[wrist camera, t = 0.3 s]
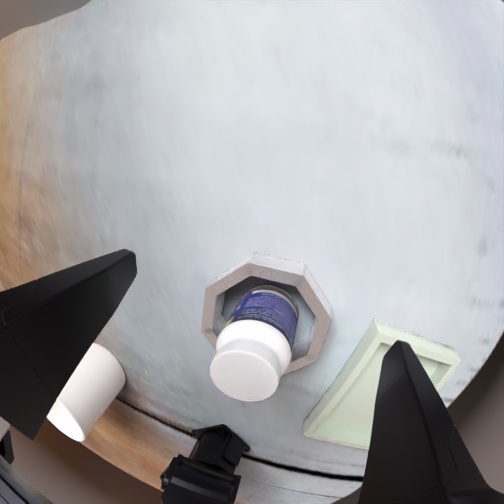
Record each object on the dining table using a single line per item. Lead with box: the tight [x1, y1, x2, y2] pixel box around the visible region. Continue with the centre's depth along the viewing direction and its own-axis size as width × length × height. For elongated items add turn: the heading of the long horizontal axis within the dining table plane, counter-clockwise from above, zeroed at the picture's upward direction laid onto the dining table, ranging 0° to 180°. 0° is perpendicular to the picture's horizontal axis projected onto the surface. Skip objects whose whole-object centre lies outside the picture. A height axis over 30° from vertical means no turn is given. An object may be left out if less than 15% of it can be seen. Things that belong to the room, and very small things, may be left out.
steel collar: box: [201, 252, 332, 375], centre depth 25 cm, size 11×11×3 cm
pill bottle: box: [210, 285, 298, 402], centre depth 22 cm, size 6×6×10 cm
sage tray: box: [302, 319, 461, 450], centre depth 25 cm, size 16×11×2 cm
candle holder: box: [47, 343, 126, 441], centre depth 29 cm, size 10×10×12 cm
